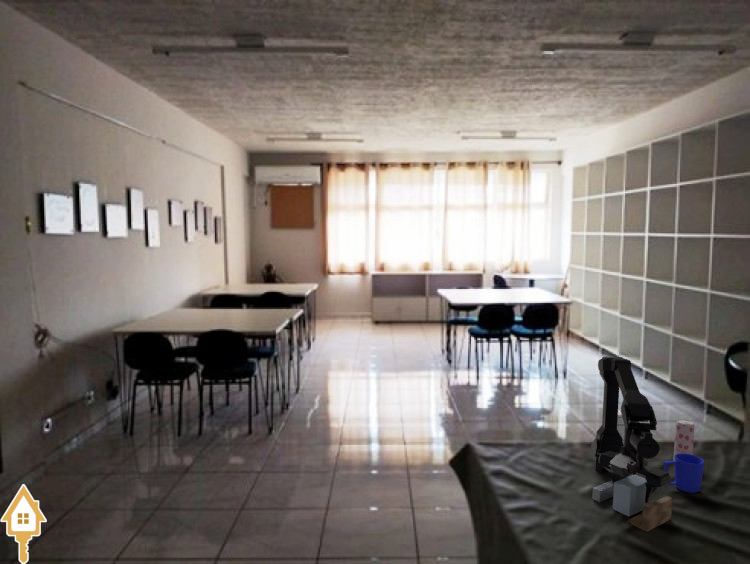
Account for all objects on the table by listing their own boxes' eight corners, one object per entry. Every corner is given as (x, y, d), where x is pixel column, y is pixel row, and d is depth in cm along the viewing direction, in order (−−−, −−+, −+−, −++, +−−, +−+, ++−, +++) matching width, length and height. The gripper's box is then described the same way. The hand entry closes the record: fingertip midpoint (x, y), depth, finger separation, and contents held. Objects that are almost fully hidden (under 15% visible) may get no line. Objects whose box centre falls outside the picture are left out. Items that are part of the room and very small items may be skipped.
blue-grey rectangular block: (632, 500, 164) (634, 474, 163) (648, 507, 160) (650, 480, 159) (612, 509, 158) (614, 482, 157) (628, 516, 154) (630, 489, 153)
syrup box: (632, 454, 200) (634, 415, 199) (614, 453, 201) (617, 414, 200) (628, 448, 206) (630, 410, 204) (611, 446, 207) (613, 409, 205)
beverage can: (685, 468, 189) (688, 425, 187) (669, 462, 194) (672, 420, 192) (695, 464, 192) (698, 423, 190) (679, 458, 197) (682, 418, 195)
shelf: (584, 480, 178) (585, 462, 178) (670, 519, 155) (672, 498, 155) (560, 490, 172) (561, 470, 171) (646, 531, 149) (648, 509, 148)
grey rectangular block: (612, 490, 169) (612, 479, 169) (619, 493, 167) (620, 482, 167) (592, 499, 164) (592, 487, 163) (599, 502, 162) (600, 491, 161)
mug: (655, 483, 177) (657, 453, 176) (691, 482, 178) (693, 452, 177) (671, 496, 169) (673, 464, 168) (708, 495, 170) (710, 463, 169)
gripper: (588, 439, 160) (585, 490, 162) (650, 462, 145) (647, 518, 146) (611, 431, 166) (608, 481, 168) (673, 453, 151) (669, 507, 152)
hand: (631, 496), depth 159 cm, fingers open, 9 cm apart
